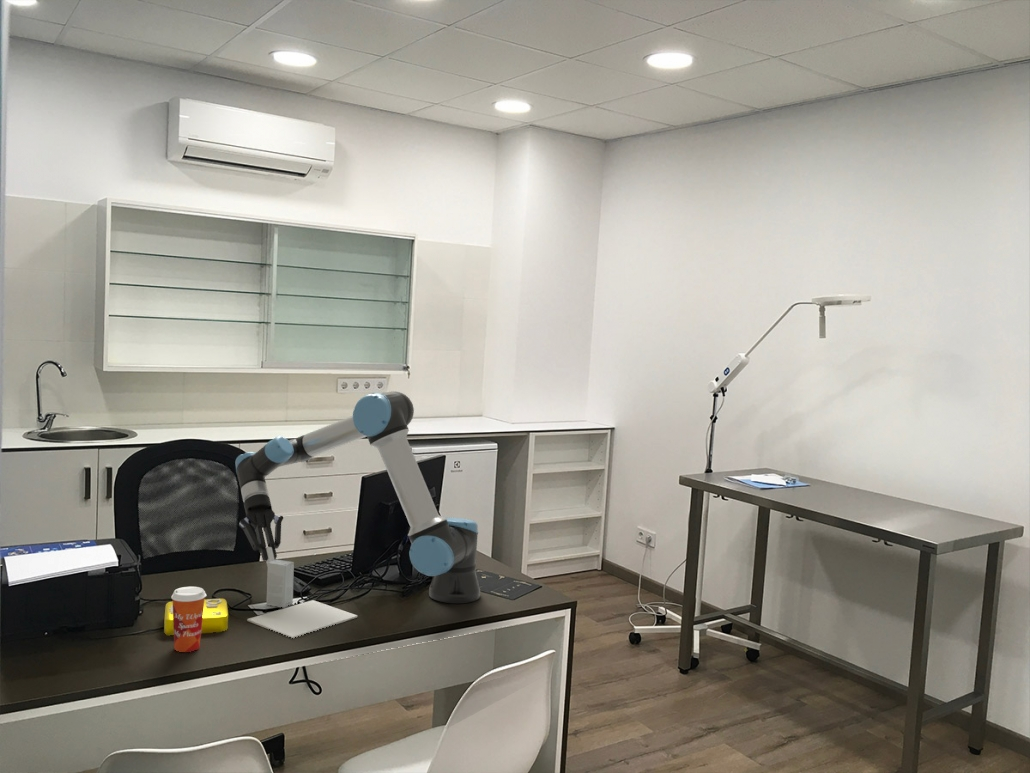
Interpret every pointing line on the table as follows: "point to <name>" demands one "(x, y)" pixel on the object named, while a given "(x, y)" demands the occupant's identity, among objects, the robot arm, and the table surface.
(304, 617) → the mat
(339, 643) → the table surface
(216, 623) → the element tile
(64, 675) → the table surface
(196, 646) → the paper cup
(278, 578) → the skincare box
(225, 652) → the table surface
